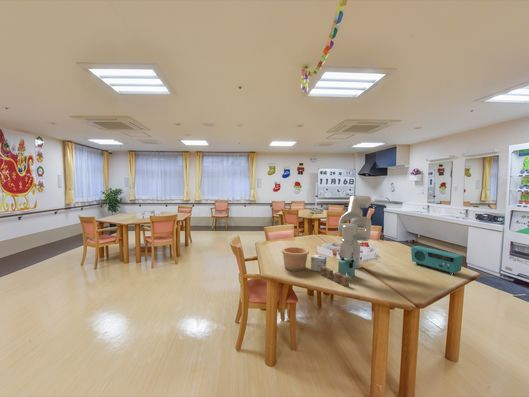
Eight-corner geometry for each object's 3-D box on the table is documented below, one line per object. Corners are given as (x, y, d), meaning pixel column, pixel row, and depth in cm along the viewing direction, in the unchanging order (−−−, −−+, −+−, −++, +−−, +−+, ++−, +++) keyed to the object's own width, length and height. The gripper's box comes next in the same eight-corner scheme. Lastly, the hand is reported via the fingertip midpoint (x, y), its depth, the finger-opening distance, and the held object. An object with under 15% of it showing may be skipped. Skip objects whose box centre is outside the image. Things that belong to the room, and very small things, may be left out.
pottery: (306, 274, 180) (306, 255, 179) (278, 270, 187) (278, 252, 186) (310, 265, 200) (310, 248, 199) (284, 262, 207) (285, 245, 207)
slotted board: (320, 274, 178) (320, 266, 178) (323, 274, 180) (323, 266, 179) (345, 286, 157) (345, 277, 157) (348, 285, 159) (348, 276, 159)
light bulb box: (326, 269, 189) (326, 256, 188) (324, 272, 183) (324, 258, 182) (313, 267, 194) (313, 254, 194) (310, 270, 188) (310, 256, 188)
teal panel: (341, 279, 170) (341, 262, 170) (338, 277, 173) (338, 261, 172) (354, 275, 177) (355, 259, 176) (351, 274, 180) (351, 258, 179)
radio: (409, 263, 205) (410, 246, 205) (416, 262, 210) (417, 245, 209) (455, 277, 175) (456, 257, 174) (462, 275, 180) (463, 255, 179)
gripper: (334, 240, 179) (334, 263, 180) (353, 245, 164) (352, 270, 165) (341, 239, 183) (341, 262, 184) (360, 244, 168) (360, 269, 169)
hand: (346, 266), depth 175 cm, fingers open, 6 cm apart
